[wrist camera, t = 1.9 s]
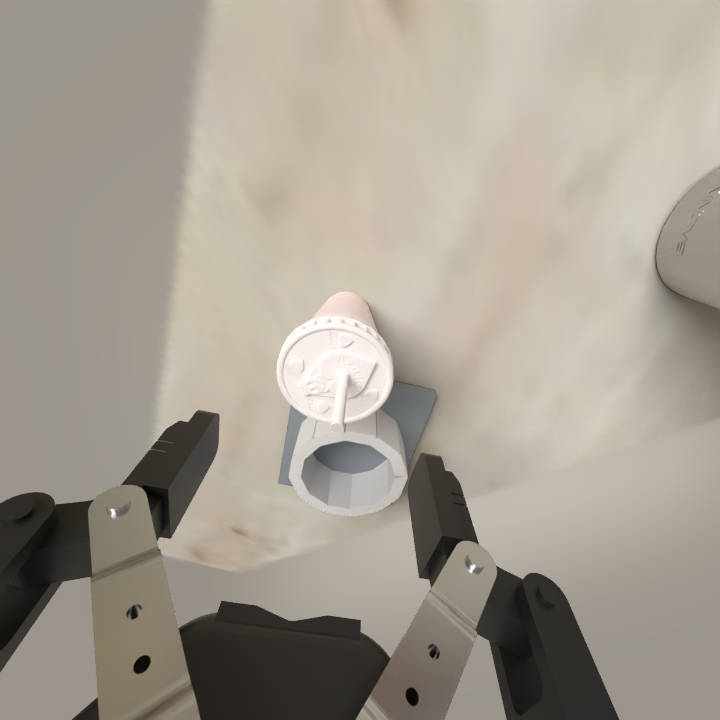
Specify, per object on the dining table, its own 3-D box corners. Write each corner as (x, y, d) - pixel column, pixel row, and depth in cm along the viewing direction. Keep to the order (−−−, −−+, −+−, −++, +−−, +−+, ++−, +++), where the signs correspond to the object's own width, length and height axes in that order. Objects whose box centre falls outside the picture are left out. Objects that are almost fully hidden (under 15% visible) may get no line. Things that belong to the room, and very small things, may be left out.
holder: (434, 389, 30) (445, 426, 25) (391, 496, 36) (394, 540, 32) (299, 360, 29) (286, 394, 24) (280, 475, 35) (267, 518, 31)
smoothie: (399, 334, 27) (422, 463, 15) (327, 361, 29) (295, 499, 16) (367, 259, 24) (364, 341, 12) (290, 293, 26) (217, 398, 14)
